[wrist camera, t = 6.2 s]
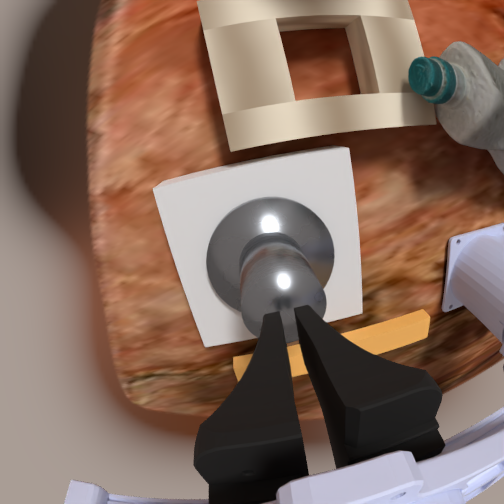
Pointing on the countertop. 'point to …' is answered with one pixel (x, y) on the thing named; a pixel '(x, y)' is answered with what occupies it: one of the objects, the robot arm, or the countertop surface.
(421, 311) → the bar
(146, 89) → the countertop surface
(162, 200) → the socket block
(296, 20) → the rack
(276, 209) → the glossy grey dome knob
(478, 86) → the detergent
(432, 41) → the countertop surface
